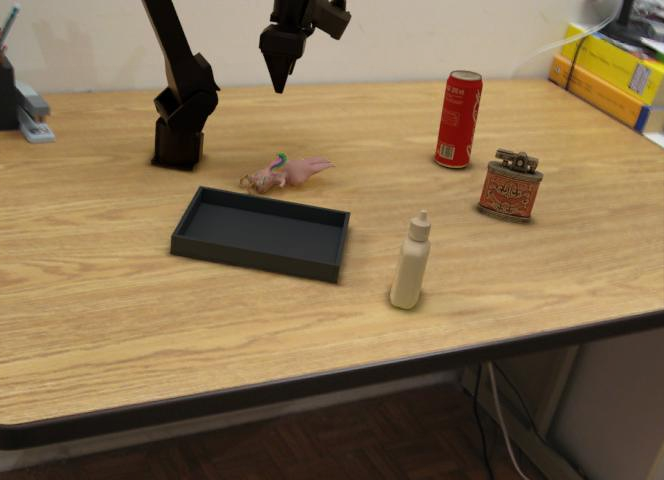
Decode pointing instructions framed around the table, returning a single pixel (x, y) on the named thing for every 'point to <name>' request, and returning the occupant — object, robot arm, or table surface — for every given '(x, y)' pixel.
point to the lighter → (510, 187)
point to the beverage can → (458, 118)
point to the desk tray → (262, 234)
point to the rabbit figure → (286, 172)
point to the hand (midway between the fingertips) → (283, 83)
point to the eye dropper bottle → (411, 263)
